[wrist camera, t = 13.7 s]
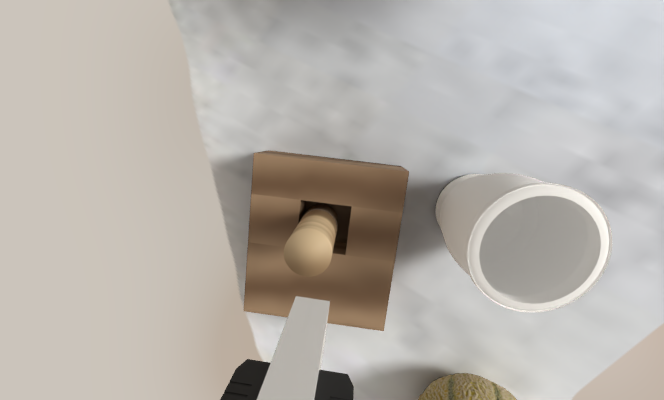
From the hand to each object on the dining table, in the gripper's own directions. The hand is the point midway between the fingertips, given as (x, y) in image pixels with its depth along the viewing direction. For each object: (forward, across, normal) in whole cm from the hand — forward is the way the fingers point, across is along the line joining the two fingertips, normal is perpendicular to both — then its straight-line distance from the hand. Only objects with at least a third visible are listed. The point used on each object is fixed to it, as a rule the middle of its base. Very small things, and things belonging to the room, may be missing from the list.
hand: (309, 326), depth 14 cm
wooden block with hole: (+27, -1, -4) cm, 27 cm away
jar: (+27, +16, +1) cm, 31 cm away
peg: (+25, -2, -2) cm, 25 cm away
